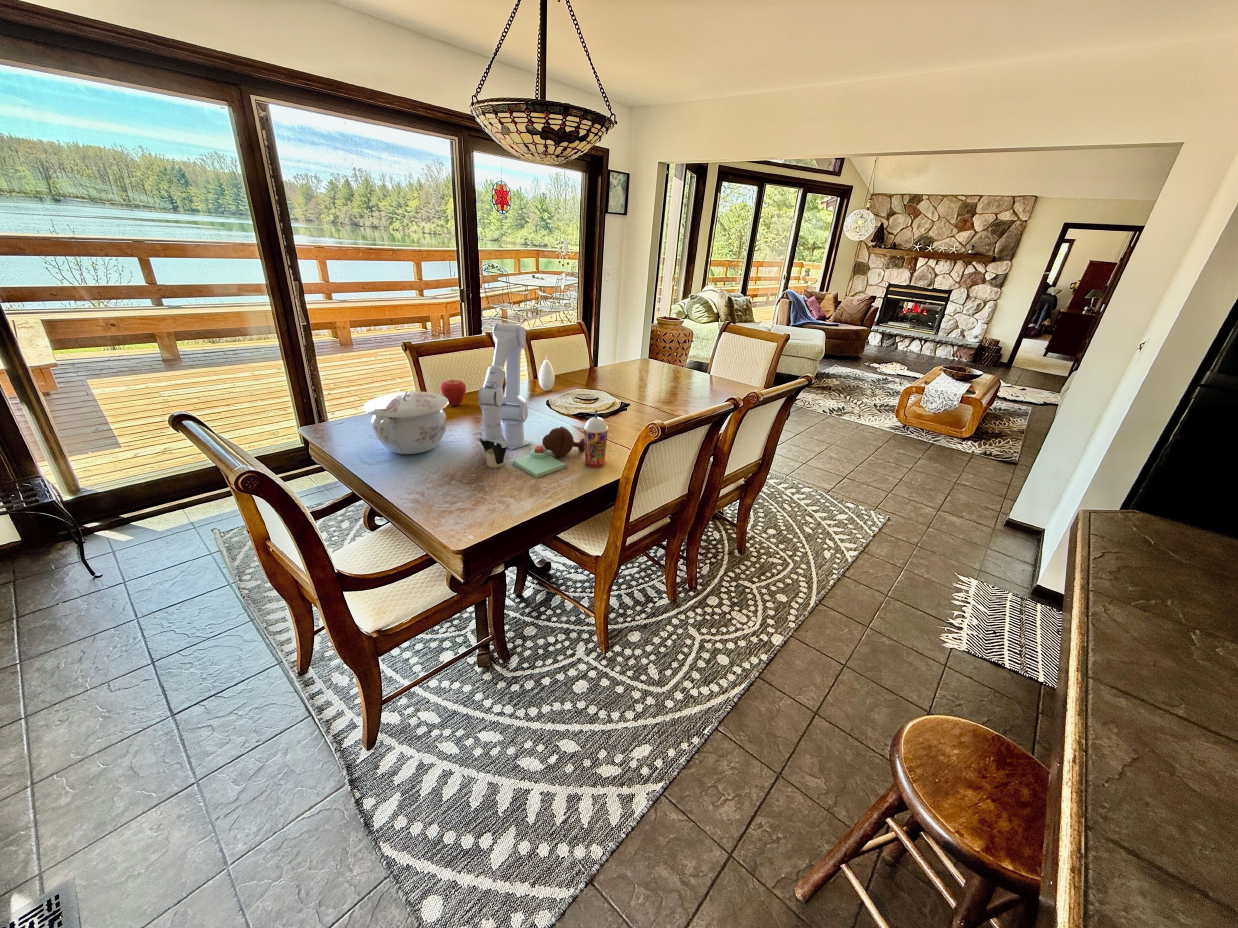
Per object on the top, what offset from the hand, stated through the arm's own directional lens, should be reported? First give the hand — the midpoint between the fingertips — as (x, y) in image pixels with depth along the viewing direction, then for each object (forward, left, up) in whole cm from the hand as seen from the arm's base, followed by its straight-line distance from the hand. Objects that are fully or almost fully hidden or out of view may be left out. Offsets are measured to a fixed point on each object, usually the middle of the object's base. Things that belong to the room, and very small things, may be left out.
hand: (494, 460), depth 164 cm
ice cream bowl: (+11, +30, +1) cm, 32 cm away
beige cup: (0, 0, -2) cm, 2 cm away
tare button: (+6, +14, +1) cm, 16 cm away
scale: (+10, +11, -2) cm, 15 cm away
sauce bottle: (-59, +66, -2) cm, 89 cm away
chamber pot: (-31, -15, -2) cm, 34 cm away
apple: (-65, +19, -2) cm, 68 cm away
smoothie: (+21, +27, -2) cm, 34 cm away
